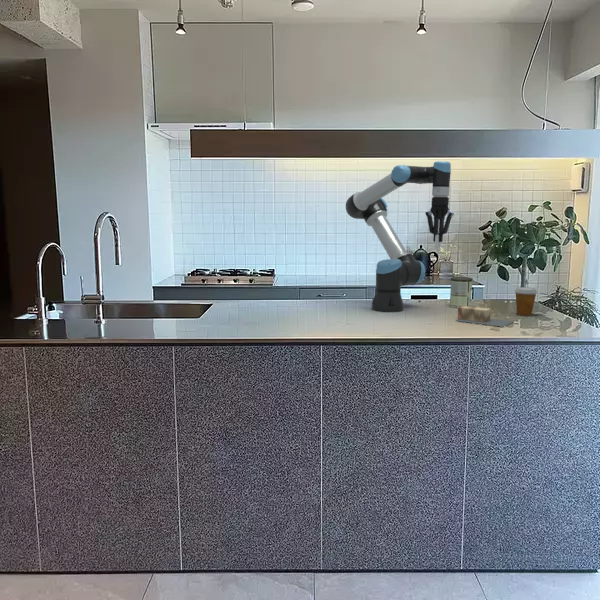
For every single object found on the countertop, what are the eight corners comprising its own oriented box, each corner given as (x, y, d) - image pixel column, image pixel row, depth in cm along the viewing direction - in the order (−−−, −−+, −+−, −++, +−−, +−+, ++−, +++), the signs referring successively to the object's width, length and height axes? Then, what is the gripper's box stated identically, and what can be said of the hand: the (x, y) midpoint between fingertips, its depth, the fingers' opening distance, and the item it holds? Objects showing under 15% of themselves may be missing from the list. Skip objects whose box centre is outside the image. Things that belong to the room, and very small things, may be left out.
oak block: (458, 307, 242) (485, 310, 234) (463, 305, 246) (490, 308, 239) (457, 318, 242) (485, 322, 235) (462, 316, 247) (490, 320, 240)
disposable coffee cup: (535, 313, 259) (537, 287, 257) (534, 317, 250) (536, 290, 248) (513, 311, 263) (515, 286, 261) (512, 315, 254) (514, 289, 252)
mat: (455, 321, 239) (455, 320, 239) (467, 316, 250) (467, 315, 250) (503, 327, 227) (503, 326, 227) (513, 322, 238) (514, 321, 238)
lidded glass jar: (447, 304, 282) (449, 276, 280) (468, 305, 281) (470, 277, 279) (451, 308, 272) (452, 279, 270) (473, 308, 271) (474, 279, 269)
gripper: (423, 196, 253) (420, 248, 257) (450, 196, 246) (447, 250, 250) (430, 196, 259) (427, 247, 263) (457, 196, 252) (454, 249, 256)
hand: (437, 249), depth 256 cm, fingers closed
